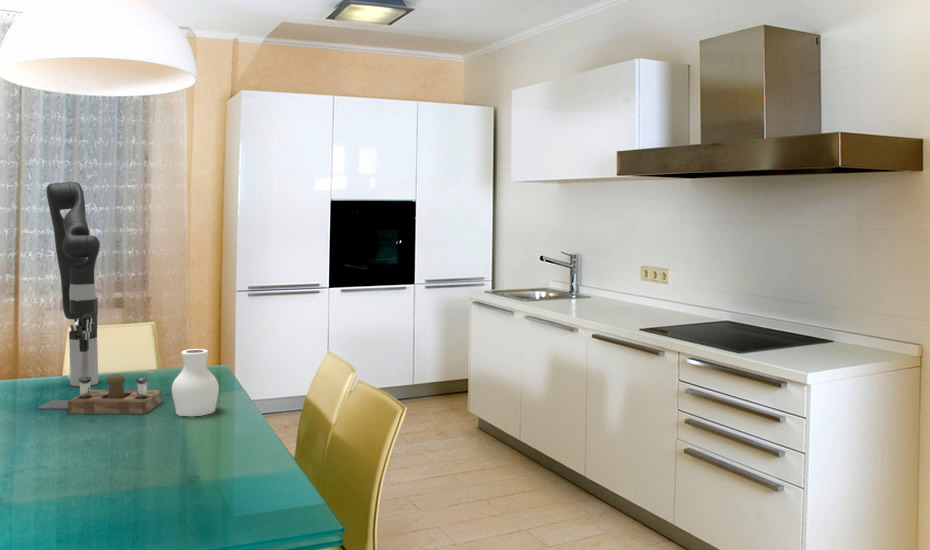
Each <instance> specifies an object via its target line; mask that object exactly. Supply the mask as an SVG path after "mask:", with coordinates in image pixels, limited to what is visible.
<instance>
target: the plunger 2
mask: <svg viewBox="0 0 930 550" xmlns="http://www.w3.org/2000/svg"><path fill="white" fill-rule="evenodd" d="M134 379H135V380H134V381H135V383H136V390H137V399H147V390H148V382H149V377H146V376H144V377H143V376H142V377H136V378H134Z"/></svg>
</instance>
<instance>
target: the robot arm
mask: <svg viewBox="0 0 930 550" xmlns="http://www.w3.org/2000/svg"><path fill="white" fill-rule="evenodd" d="M46 197H47V203H48V208H49V213H50V216H51V217H50V218H51V222H52V227H53V233H54V243H55V250H56V251H55V252H56V253H55V254H56V257H57V265H58V269H59V275H60V281H61V282H60V283H61V295H62V296H61V298H62V308H63V314H64V316H65V319H67V320H74V324H71V325H70V330H69V332H68V342H69V343H68V346H69V349H68V350H69V377H70V379H69V382H70V386H72V387H80V382H79V381H78V378H81V377H91V378H92V380H91V381H90V386H95V385H97V384H99V356H98V355H99V354H98V351H99V350H98V314H99V313H98V312H99V311H98V310H99V302H98V298H97V294H96V293H97V292H96V291H97V290H96V285H95V283H96V281H95V270H96V269H95V268H96V267H95V266H96V264H97V263H96V262H97V259H98V255H99V252H100V248H101V244H100V240H99V238H98V237H97V236H95V235H92V234H91V235H90V229H89V226H88V222H87V217H86V202H85V194H84V190H83V188H82V185H81V184H80V182H77V181H68V182H67V181H66V182H54V183H49V184H47V187H46ZM63 210H69V211H68V212H67V213H66V215H65V216H64V217H63V216H62V213H61V211H63Z"/></svg>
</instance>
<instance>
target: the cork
mask: <svg viewBox="0 0 930 550" xmlns="http://www.w3.org/2000/svg"><path fill="white" fill-rule="evenodd" d="M125 380H126V378H125V375H123V374H120V373H114V374H110V375H109V376H108V377H107V380H106V383H107V384H108V390H109V392H108V399H124V398H125V393H124V390H125V389H124V384H125Z"/></svg>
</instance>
